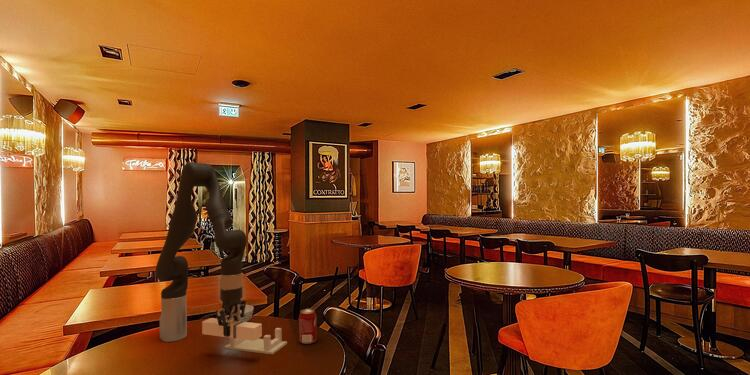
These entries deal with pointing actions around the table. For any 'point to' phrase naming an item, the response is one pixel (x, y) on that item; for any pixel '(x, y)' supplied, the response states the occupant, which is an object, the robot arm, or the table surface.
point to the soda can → (307, 326)
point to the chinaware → (246, 313)
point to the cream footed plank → (259, 344)
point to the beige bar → (233, 329)
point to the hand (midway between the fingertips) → (231, 333)
